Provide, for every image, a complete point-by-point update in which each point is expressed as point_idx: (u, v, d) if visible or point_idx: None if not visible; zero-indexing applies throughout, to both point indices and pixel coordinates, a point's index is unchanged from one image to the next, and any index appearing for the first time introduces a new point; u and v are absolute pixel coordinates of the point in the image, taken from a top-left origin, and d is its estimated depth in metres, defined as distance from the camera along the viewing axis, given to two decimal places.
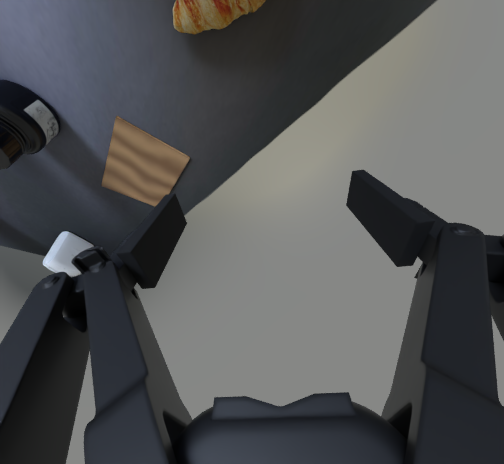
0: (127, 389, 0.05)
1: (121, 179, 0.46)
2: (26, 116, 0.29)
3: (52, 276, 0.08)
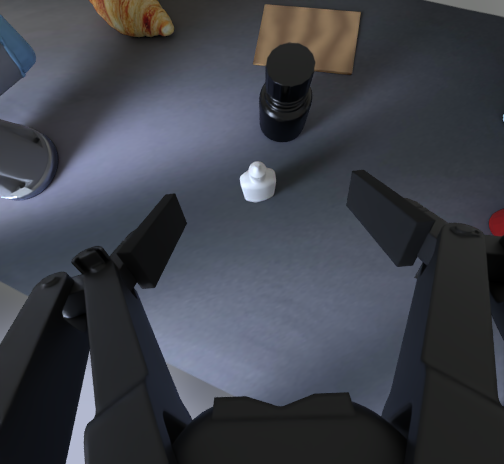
0: (126, 389, 0.05)
1: (328, 55, 0.39)
2: None
3: (52, 276, 0.08)
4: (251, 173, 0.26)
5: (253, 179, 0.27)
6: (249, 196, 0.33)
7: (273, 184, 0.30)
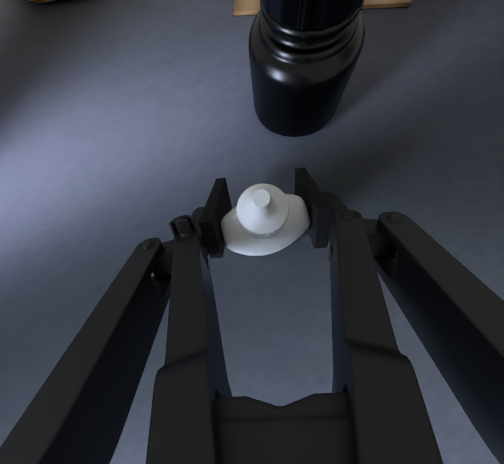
0: (190, 353, 0.05)
1: None
2: None
3: (150, 240, 0.10)
4: (245, 222, 0.09)
5: (253, 234, 0.10)
6: (249, 254, 0.15)
7: None
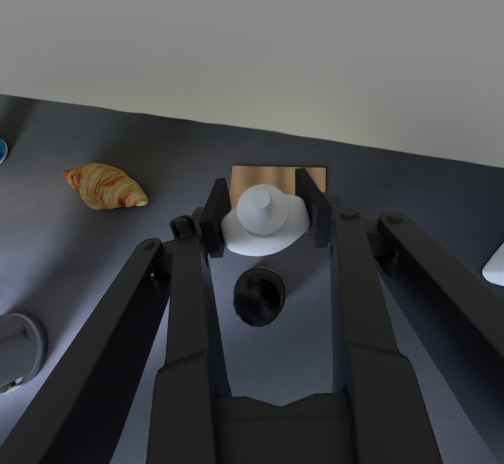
0: (190, 353, 0.05)
1: None
2: None
3: (150, 240, 0.10)
4: (245, 223, 0.09)
5: (253, 235, 0.10)
6: None
7: (304, 232, 0.12)
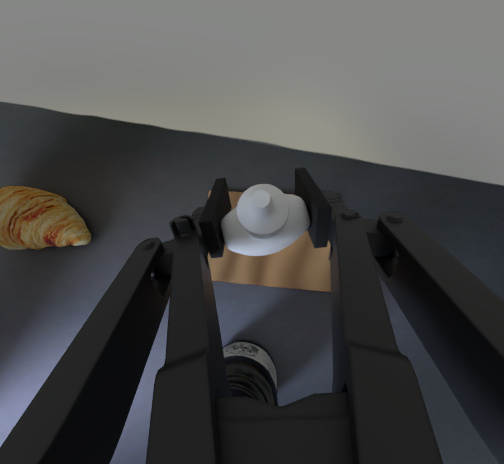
0: (190, 353, 0.05)
1: (300, 264, 0.28)
2: None
3: (150, 240, 0.10)
4: (245, 223, 0.09)
5: (253, 235, 0.10)
6: None
7: None
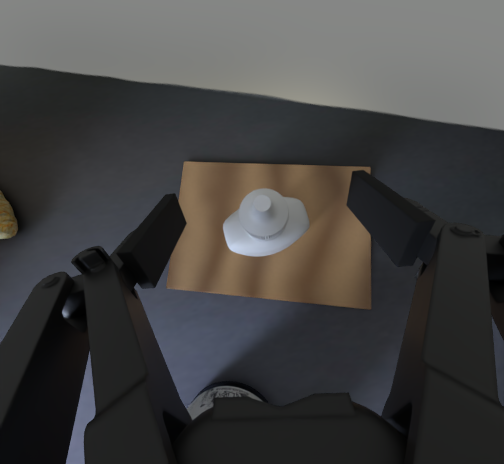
0: (127, 389, 0.05)
1: (316, 266, 0.19)
2: None
3: (52, 276, 0.08)
4: (247, 225, 0.09)
5: (255, 237, 0.10)
6: (250, 255, 0.16)
7: None
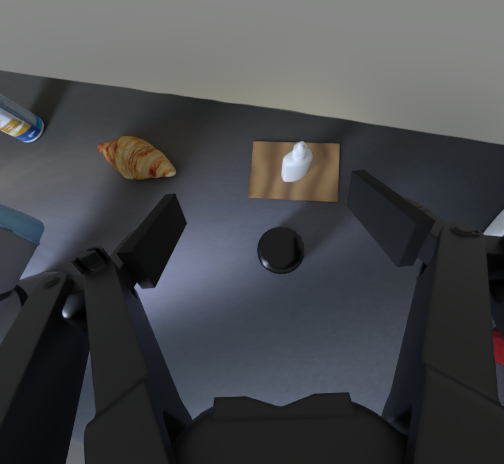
0: (126, 389, 0.05)
1: (315, 185, 0.43)
2: None
3: (52, 276, 0.08)
4: (296, 151, 0.34)
5: (297, 156, 0.35)
6: (289, 175, 0.41)
7: (310, 161, 0.37)
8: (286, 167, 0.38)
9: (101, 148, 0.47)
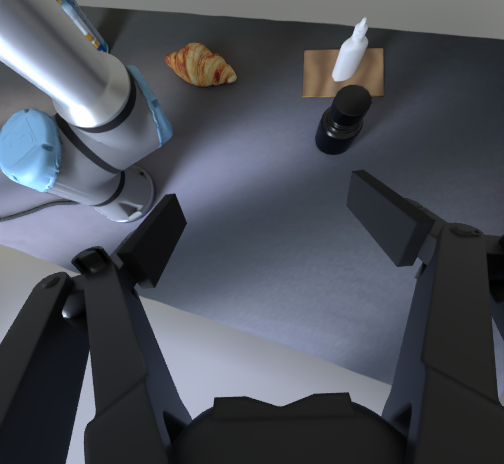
0: (127, 389, 0.05)
1: (362, 83, 0.49)
2: None
3: (52, 276, 0.08)
4: (358, 29, 0.40)
5: (357, 36, 0.40)
6: (343, 68, 0.46)
7: (365, 48, 0.43)
8: (344, 54, 0.43)
9: (168, 58, 0.53)
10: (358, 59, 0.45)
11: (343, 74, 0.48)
